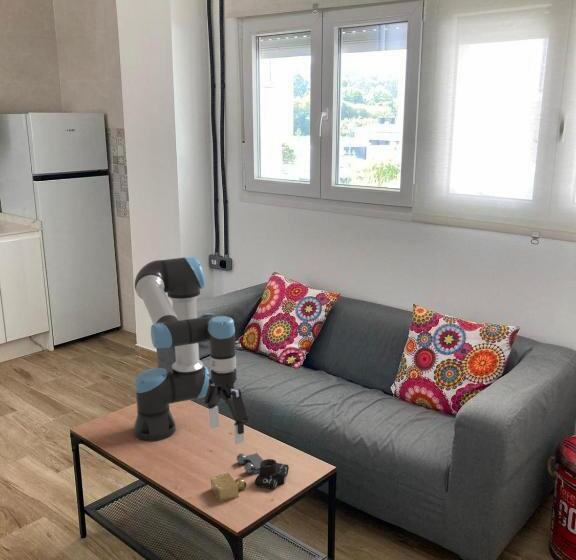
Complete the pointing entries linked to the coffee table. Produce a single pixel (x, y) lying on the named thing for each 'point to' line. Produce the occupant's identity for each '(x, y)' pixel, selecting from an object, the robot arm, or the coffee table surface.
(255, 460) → the steel hinge leaf
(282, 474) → the film camera
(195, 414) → the coffee table surface
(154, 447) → the coffee table surface
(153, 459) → the coffee table surface
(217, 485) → the gold knuckled block
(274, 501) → the coffee table surface
